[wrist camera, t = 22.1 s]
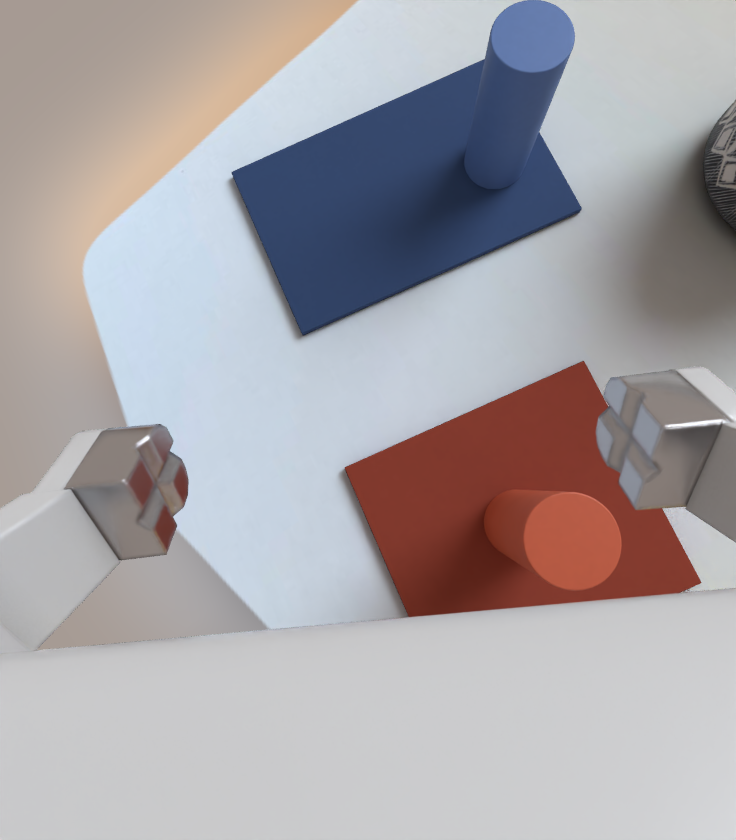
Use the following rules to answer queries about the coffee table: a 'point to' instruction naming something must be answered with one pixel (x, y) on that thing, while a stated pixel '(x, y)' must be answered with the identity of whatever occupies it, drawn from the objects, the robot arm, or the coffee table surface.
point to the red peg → (555, 536)
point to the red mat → (492, 475)
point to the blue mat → (390, 202)
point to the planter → (722, 165)
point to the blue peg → (516, 89)
